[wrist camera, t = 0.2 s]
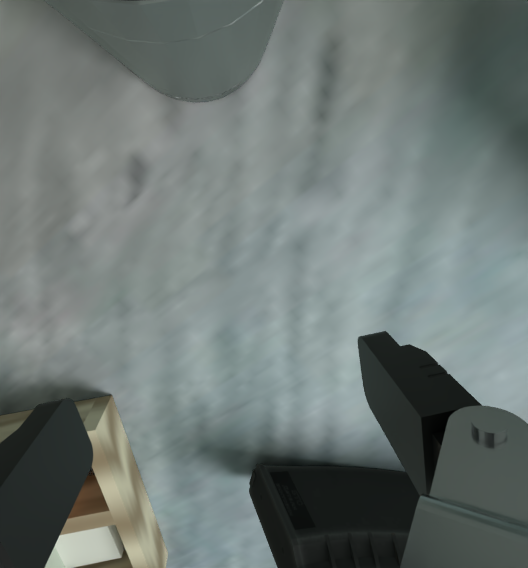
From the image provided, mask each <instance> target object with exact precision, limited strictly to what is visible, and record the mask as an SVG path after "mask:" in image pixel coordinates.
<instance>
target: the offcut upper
mask: <svg viewBox="0 0 528 568" xmlns="http://www.w3.org/2000/svg"><path fill="white" fill-rule="evenodd" d="M45 568H66V567H65V565H64V563H63V561H62V559H61V557H60V556H59V554H58V552H57V550H56V548H55V546H54V549H53V551H52V553H51V555H50V557H49V559H48V562H47V564H46V566H45Z"/></svg>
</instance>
